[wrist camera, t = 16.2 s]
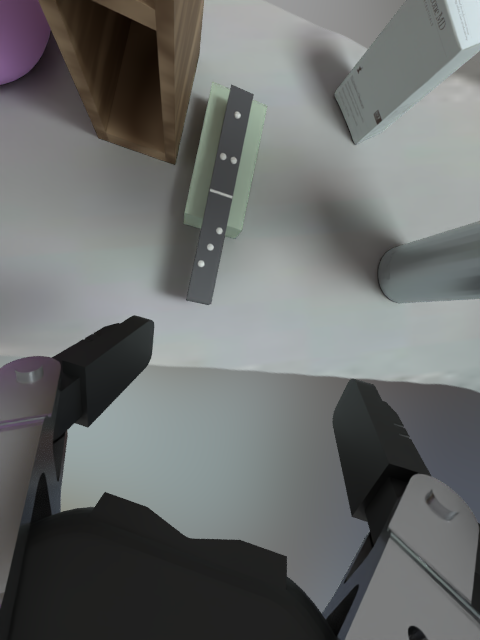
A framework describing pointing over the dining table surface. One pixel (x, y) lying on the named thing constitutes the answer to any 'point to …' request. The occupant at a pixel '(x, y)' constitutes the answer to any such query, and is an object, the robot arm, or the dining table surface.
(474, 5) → the skincare box
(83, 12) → the shelf tower
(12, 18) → the teapot
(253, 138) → the green block
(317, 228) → the dining table surface
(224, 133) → the domino bar
